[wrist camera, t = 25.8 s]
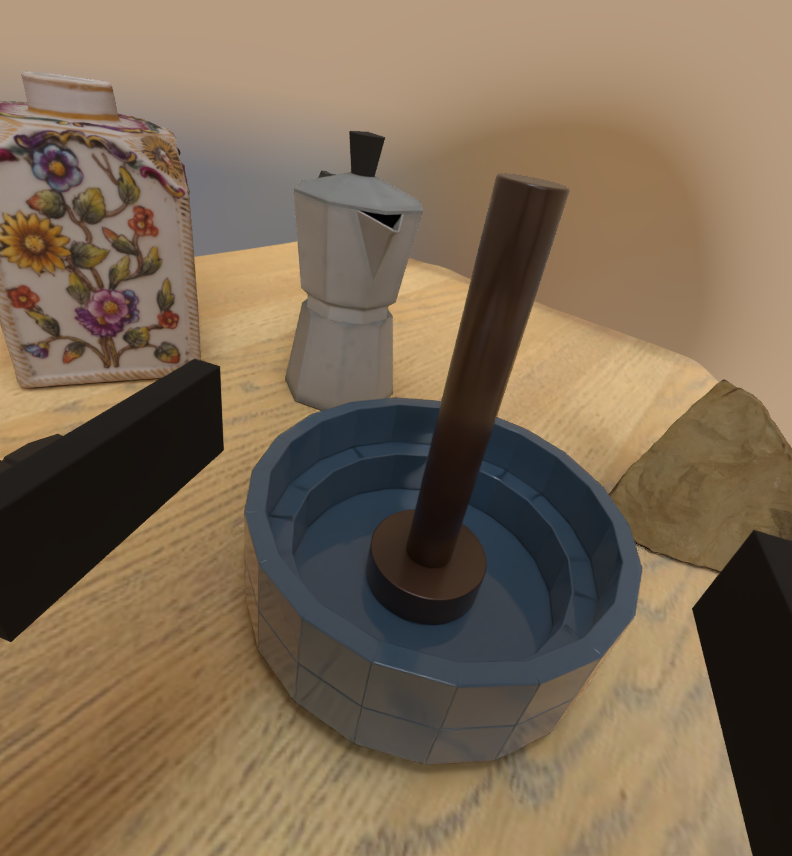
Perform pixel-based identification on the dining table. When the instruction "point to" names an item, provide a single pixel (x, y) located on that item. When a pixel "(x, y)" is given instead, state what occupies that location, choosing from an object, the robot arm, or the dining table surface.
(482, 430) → the upright rod on disc
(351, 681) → the bowl
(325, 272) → the coffee maker
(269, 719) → the dining table surface
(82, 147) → the decorative jar
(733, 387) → the rock
